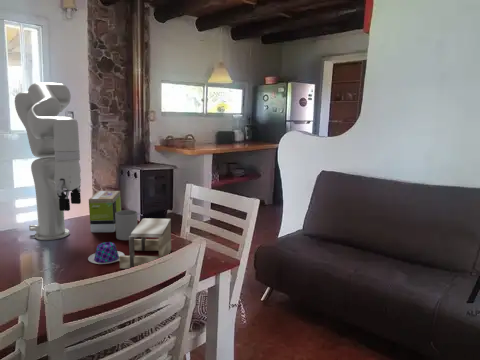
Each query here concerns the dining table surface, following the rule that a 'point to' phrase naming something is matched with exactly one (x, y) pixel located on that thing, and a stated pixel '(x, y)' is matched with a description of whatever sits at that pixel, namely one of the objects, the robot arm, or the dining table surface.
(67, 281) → the dining table surface
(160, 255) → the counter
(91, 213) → the tea box
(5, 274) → the dining table surface
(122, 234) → the cup
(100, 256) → the pudding
